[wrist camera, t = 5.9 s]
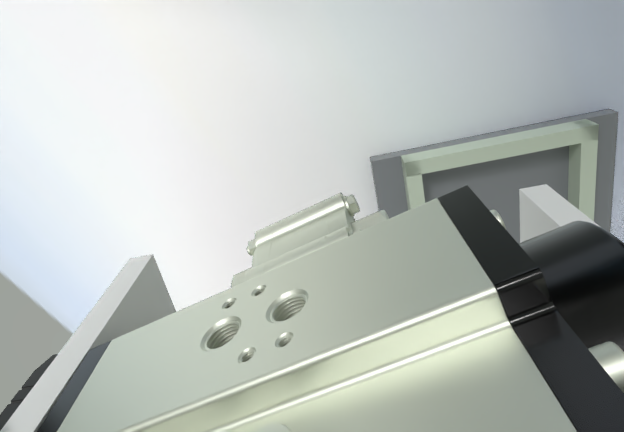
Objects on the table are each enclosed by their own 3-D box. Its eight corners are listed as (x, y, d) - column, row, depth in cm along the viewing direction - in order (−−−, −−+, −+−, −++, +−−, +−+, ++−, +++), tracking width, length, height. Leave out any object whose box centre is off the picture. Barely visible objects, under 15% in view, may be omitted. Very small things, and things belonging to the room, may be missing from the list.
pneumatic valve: (503, 234, 16) (951, 771, 5) (212, 353, 18) (54, 908, 7) (449, 86, 13) (1036, 432, 3) (127, 242, 16) (-295, 784, 5)
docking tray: (369, 157, 32) (373, 169, 29) (609, 108, 30) (632, 117, 28) (401, 344, 39) (406, 365, 36) (596, 313, 37) (614, 333, 35)
